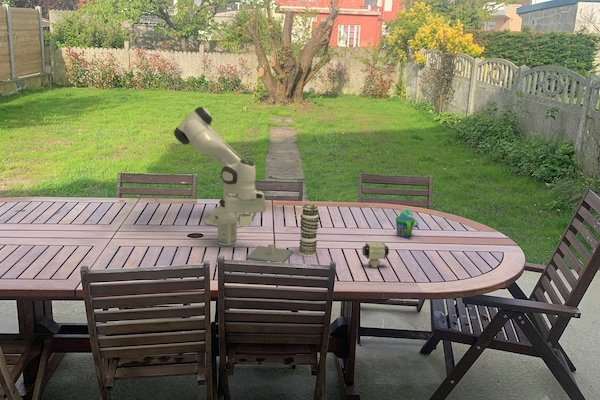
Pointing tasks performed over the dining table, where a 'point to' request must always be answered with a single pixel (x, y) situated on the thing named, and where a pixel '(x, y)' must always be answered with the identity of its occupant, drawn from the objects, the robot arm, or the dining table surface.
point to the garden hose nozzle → (408, 213)
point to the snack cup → (404, 225)
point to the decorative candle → (309, 230)
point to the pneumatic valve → (375, 253)
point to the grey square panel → (269, 254)
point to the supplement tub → (227, 229)
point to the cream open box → (245, 219)
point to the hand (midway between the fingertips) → (244, 221)
